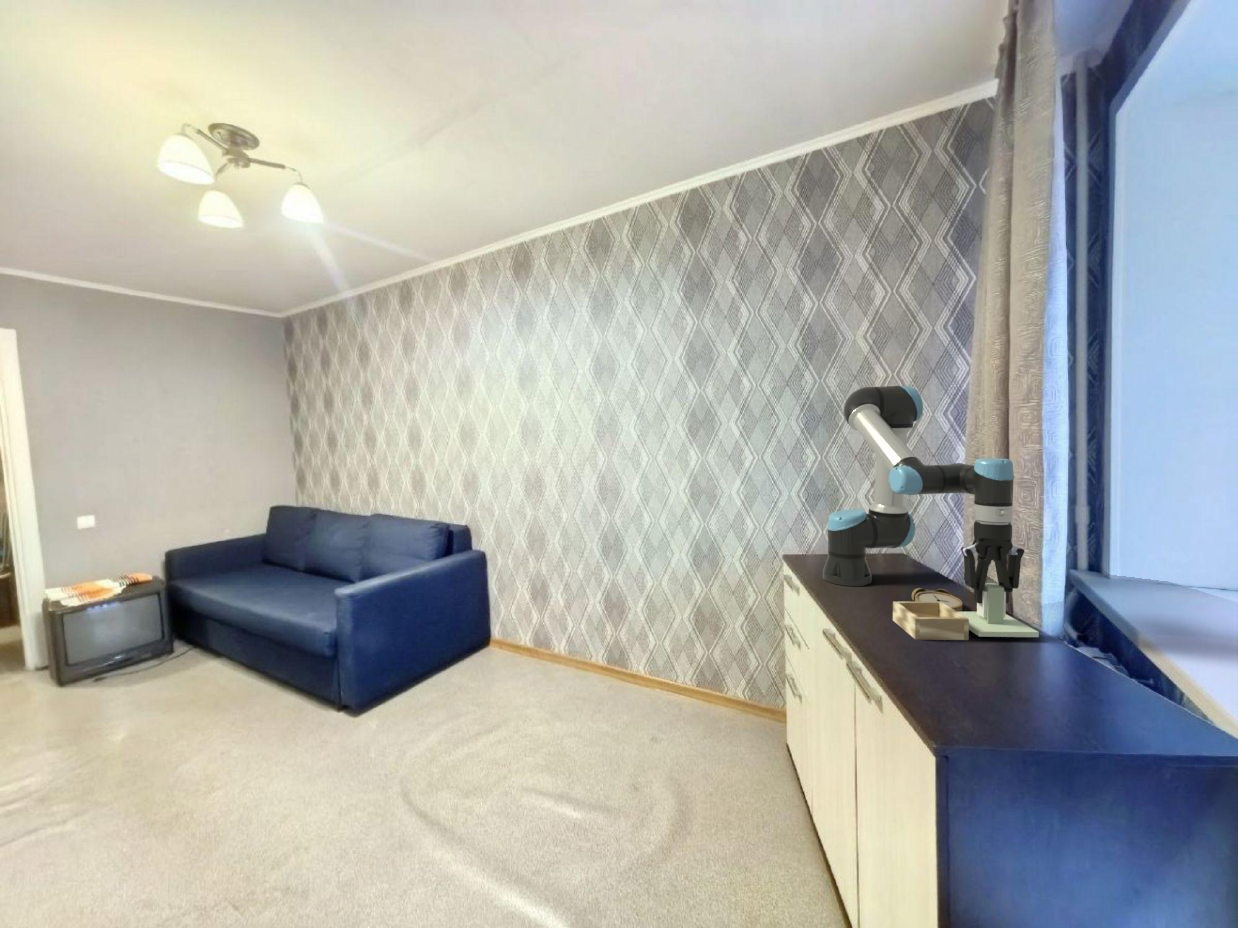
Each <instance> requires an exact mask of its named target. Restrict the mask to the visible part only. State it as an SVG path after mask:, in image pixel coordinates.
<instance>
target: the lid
mask: <svg viewBox="0 0 1238 928" xmlns="http://www.w3.org/2000/svg"><path fill="white" fill-rule="evenodd" d="M984 590H985V591H987V618H983V617H981V616H980V615H978V614H977V611H961V612H958V613H960V614H961V615H963V616H965V617H966V618H968V619H969V632H970V631H971V632H972V633H973V634H975V635H976V636H978V637H979V638H981V637H986V638H987V637H989V638H990V637H991V638H993V637H994V638H1000V637H1001V638H1004V637H1005V638H1012V637H1013V638H1039V637H1040V632H1039V631H1038V630H1036V629H1034V628H1032V627H1030V626H1028V625H1026V623H1023V622H1022V621H1020V620H1017V619H1016V618H1014V617H1012V616H1011V615H1008V614H1007V613H1006V614H1005V618H1003V617H1004V587H1001V586H999V584H997V583H994V582H993V583H992V582H991V583H989V582H987V583H986V582H985V587H984Z"/></svg>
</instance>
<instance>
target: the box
mask: <svg viewBox="0 0 1238 928" xmlns="http://www.w3.org/2000/svg"><path fill="white" fill-rule="evenodd" d="M914 614H916V615H918V616H919V617H917V616H915V615H914ZM892 621H893V622H894V623H896V625H898V627H900V628H902V630H904V631H905V632H906V633H907V634H908V635H910V636H911V638H913V639H914V640H925V641H926V640H928V641H929V640H936V641H941V640H942V641H943V640H944V641H947V640H949V641H969V637H970V635H969V632H970V630H969V619H968V618H966V617H965V616H963V615H961V614H960V613H958V612H957V611H955V610H954V609H952V608H950V607H949V606H947V605H946V604H944V603H943V602H915V601H892Z"/></svg>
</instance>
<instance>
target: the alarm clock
mask: <svg viewBox="0 0 1238 928" xmlns="http://www.w3.org/2000/svg"><path fill="white" fill-rule="evenodd" d="M911 599H912V601H914V602H943V603H944V604H946V605H947V606H949V607H950V608H952V609H954V610H955V611H957V612H963V601H962V600H961V599H960V598H959V597H956V596H954V595H952V594H951V593H950V592H949V590H947V589H943V588H938V589H936V590H930V589H924V588H921V587H918V588H915V589H913V590H912V593H911Z"/></svg>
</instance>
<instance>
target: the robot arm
mask: <svg viewBox="0 0 1238 928" xmlns="http://www.w3.org/2000/svg"><path fill="white" fill-rule="evenodd" d="M923 404H924V403H923V399H922V396H921V394H920V393H919V391H918V390H917V389H915V387H913V386H908V385H887V386H865V387H860V388H858V389H857V390H855V391H853V392H852V393H851V394H849V396H848V397H847V398H846V400H845V402H844V405H843V416H844V419H845V421H846V423H847V424H848V426H850V428H851V429H852V430H854V431H858V433H859V434H860V435H861V437H862V438H863V439H864V440H865V442H866V443H867V444H868V445H869V447H870V448H871V449H872V450H873V451H874V452H875V454H876V457H875V458H876V459H875V460H876V461H875V475H874V476H875V479H874V499H873V503H872V504H870V506H868V513H866V512H867V511H865V510H863V509H843V510H837V511H834V512H832V513H830V514H829V516H828V521H827V545H828V546H827V553H828V554H827V558H826V561H825V564H824V566H823V569H822V579H823V580H824V581H826V582H828V583H831V584H834V585H838V586H839V585H840V586H847V587H862V586H867V585H870V584H871V583H872V578H873V577H872V576H873V575H872V573H871V569H870V568H869V564H868V561H867V556H866V555H867V550H868V549H870V550H872V549H897V548H903V547H907V546H908V545H910V544H911V543H912V541H913V540H914V538H915V534H916V524H915V522H914V521H915V520H914V517H913V516H912V515H911V514H910V513H909V508H907V507H906V506H905V505H904V498H905V497H904V495H907V496H915V495H916V496H917V495H933V494H934V495H936V494H939V495H940V494H941V495H942V494H968V495H973V496H974V502H973V503H974V507H973V519H974V520H975V521H974V522H973V536H974V537H973V538H974V539H973V541H972V545H969V546H967V547H965V546H962V547H961V548H960V551H961V553H962V555H963V565H964V569H963V570H964V584H965V585H966V586H967V587H969V588H971V589H973V600H974V603H976V612H977V614H978V615H980V616H981V617H983V618H987V591H985V590H984V587H985V583H986V581H987V578H988V577H987V576H988V572H989V567H990V565H991V564H992V561H993V562H994V565H995V566H994V567H995V572H996V576H997V583H998V584H997V585H999V586H1001V587H1004V617H1003V618H1005V614H1007V613H1006V605H1007V604H1009V602H1010V593H1011V592H1013V591H1014V590H1013V589H1016V590H1017V589H1019V585H1020V574H1021V566H1022V565H1021V564H1022V558H1023V555H1024V554H1025V549H1023V548H1021V547H1018V546H1014V544H1013V543H1012V538H1013V525H1012V522H1013V505H1014V502H1013V501H1014V479H1015V475H1014V473H1015V472H1014V463H1013V461H1012V460H1011V459H1008V458H995V457H994V458H993V457H991V458H989V457H985V458H977V459H976V460H975V462H974V464H967V463H966V464H965V463H961V462H957V463H955V462H954V463H953V462H952V463H946V464H930V465H928V464H927V465H926V464H924V463H923V462H922V461H921V460H920V459H919V458H918V457H917V455H916V454H915V453H914V452H913V451H912V449H910V447H908V445H907V442H908V441H907V440H908V434H909V432H910V431H911V430H912V429H914V423H915V422H917V421H919V420H920V418H921V416H922V415H923V411H924V405H923ZM975 552H976V553H977V558H975V555H976V553H975ZM1008 554H1009V556H1008V559H1007V555H1008ZM976 561H977V565H976Z"/></svg>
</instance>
